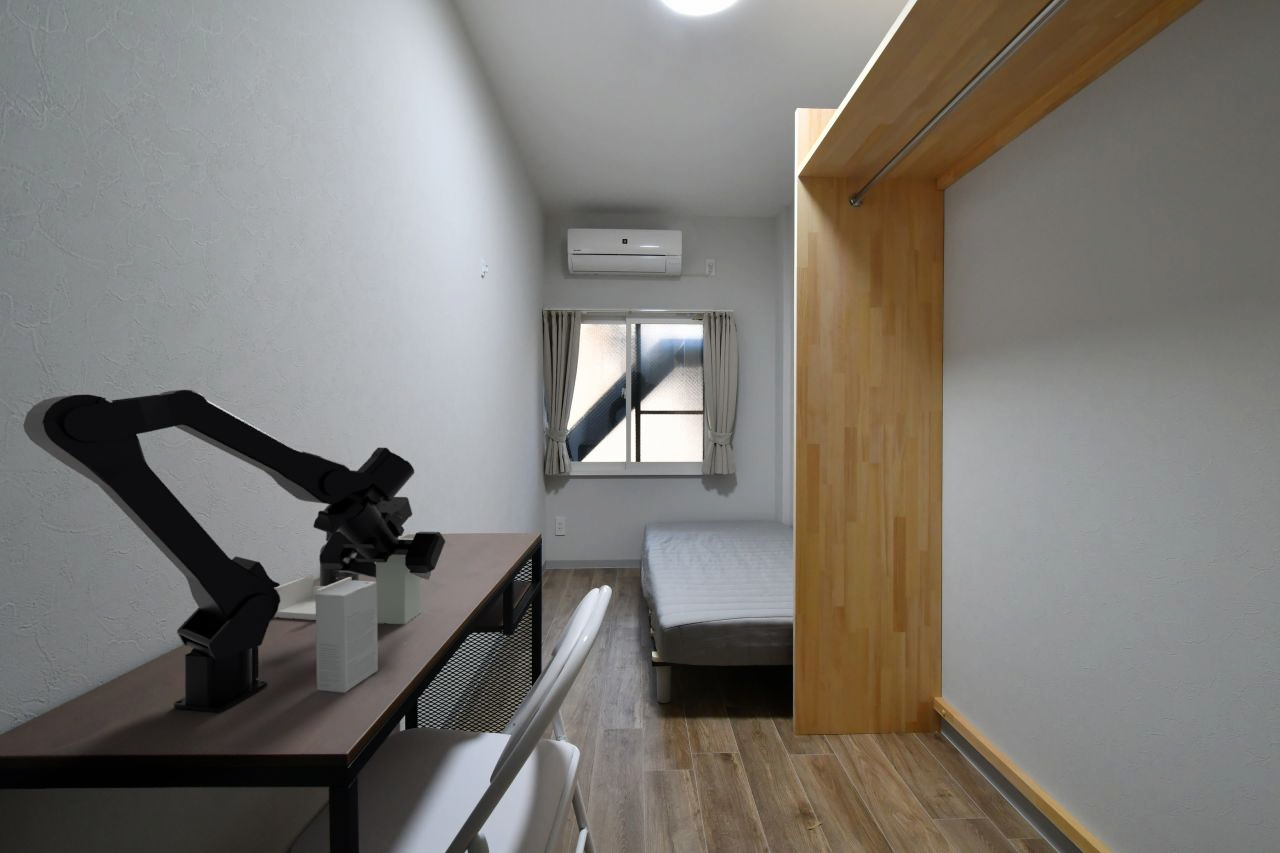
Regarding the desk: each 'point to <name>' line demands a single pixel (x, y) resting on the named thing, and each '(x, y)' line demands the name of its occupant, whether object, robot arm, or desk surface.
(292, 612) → the tray
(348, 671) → the skincare box
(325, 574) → the supplement bottle
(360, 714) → the desk surface
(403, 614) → the sage ceramic block
